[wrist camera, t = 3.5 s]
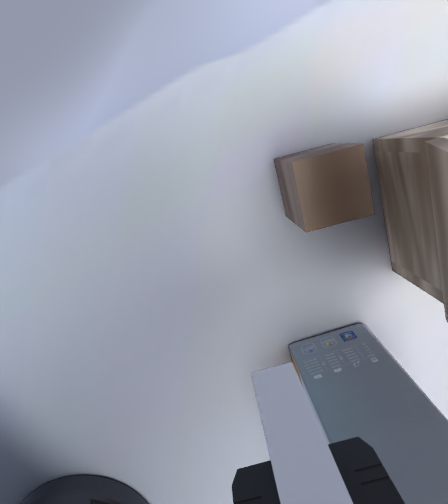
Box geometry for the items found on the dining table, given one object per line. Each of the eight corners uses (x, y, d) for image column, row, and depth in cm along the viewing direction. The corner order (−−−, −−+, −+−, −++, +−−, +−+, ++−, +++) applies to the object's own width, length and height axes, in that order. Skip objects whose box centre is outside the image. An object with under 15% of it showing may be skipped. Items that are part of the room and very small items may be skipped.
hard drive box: (285, 342, 39) (370, 536, 20) (362, 319, 39) (524, 491, 20) (321, 471, 43) (421, 736, 24) (391, 451, 43) (550, 700, 24)
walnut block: (285, 215, 36) (306, 232, 29) (273, 158, 35) (292, 162, 28) (341, 201, 36) (374, 214, 29) (331, 143, 35) (363, 143, 28)
